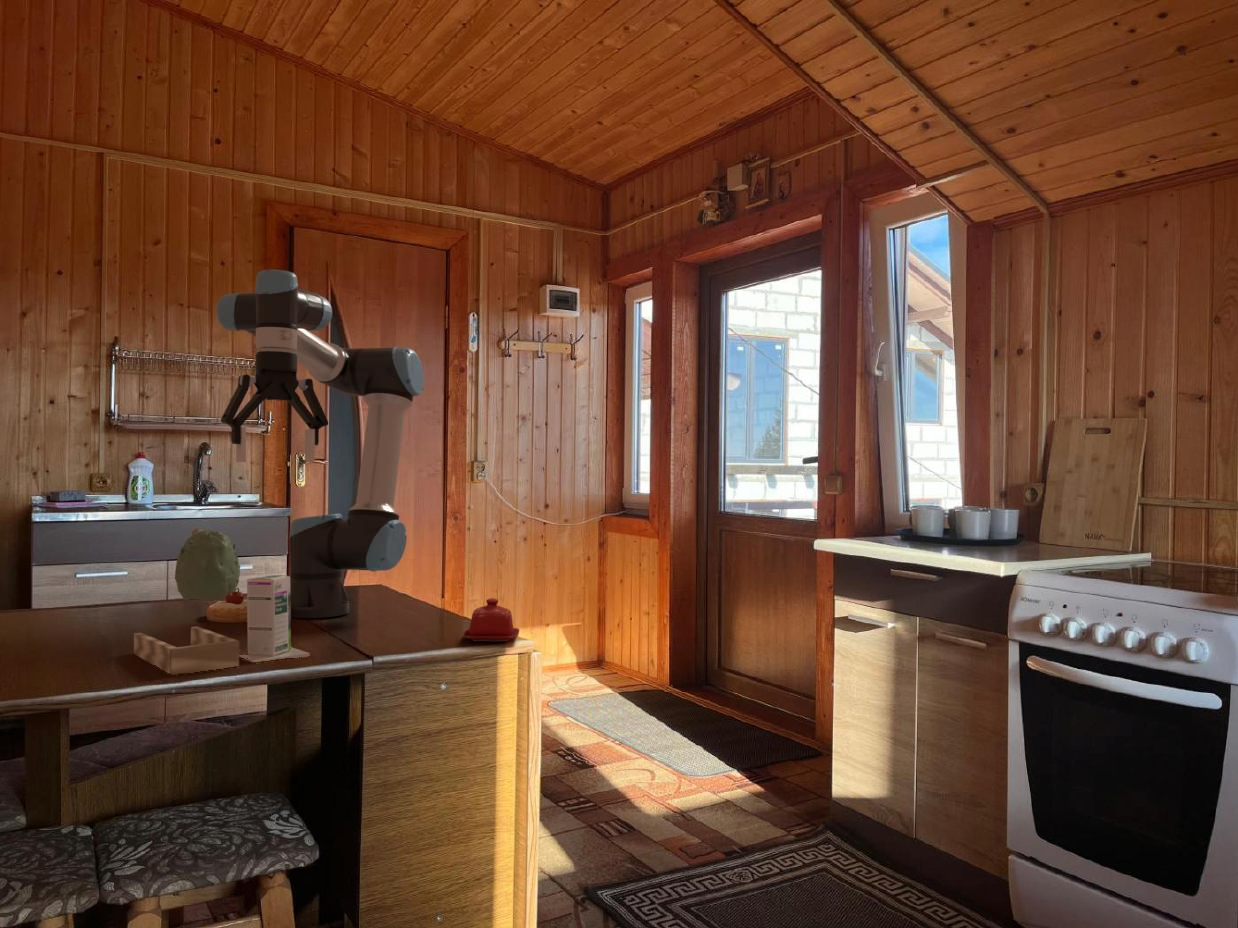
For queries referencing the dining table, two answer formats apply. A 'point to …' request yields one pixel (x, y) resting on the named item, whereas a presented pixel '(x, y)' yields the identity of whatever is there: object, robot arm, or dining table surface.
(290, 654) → the coaster
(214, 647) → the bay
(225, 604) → the pastry
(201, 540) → the green lumpy fruit
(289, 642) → the syrup box
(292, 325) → the robot arm
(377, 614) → the dining table surface
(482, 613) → the butter dish
